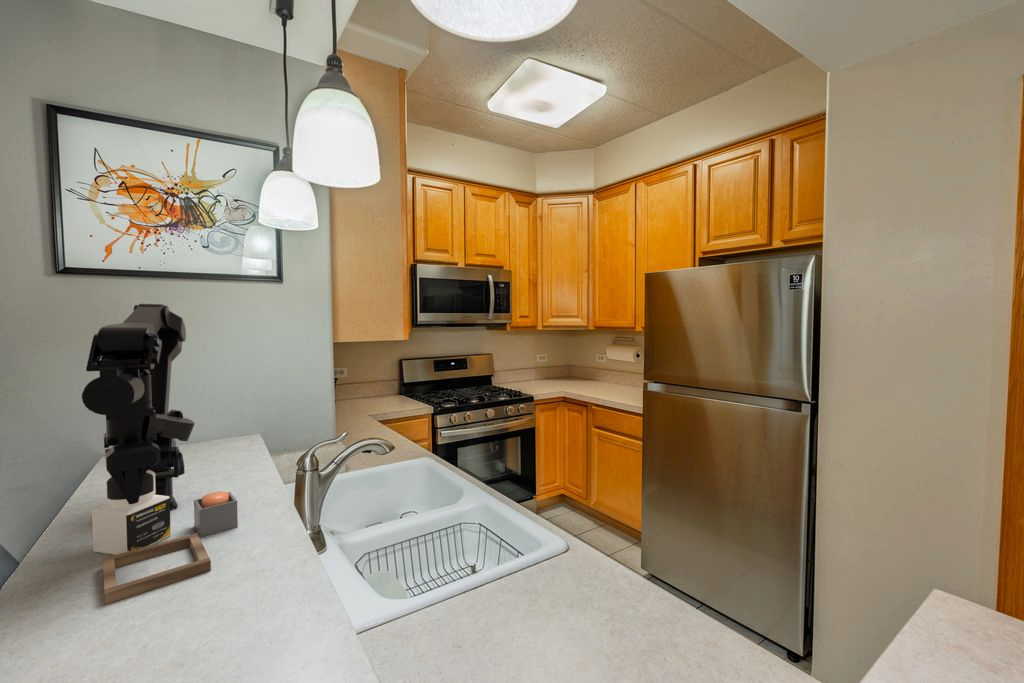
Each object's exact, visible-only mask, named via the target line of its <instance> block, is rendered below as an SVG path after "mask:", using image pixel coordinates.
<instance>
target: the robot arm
mask: <svg viewBox="0 0 1024 683" xmlns="http://www.w3.org/2000/svg"><path fill="white" fill-rule="evenodd" d="M186 329H187V328H186V324H185V323H184V319H183V318H182V317H181V316H179V315H178V314H176V313H174V312H173V311H171V310H170V308H169V306H168V305H164V304H163V303H139V304H135V305H134V306H133V311H132V312H131V313H130V314H129V315H128V317H126V319H124V320H123V321H122V322H120V323H113V324H107V325H105V326H102V327H100V328H99V329H98V331H97V333H95V334H94V335H93V337H92V341H91V344H90V349H89V353H88V354H89V355H88V359H87V363H86V367H85V370H86V372H99V377H97V378H94V379H92V380H91V381H89V382H88V383H87V384H86V385H85V387H84V388H83V391H82V393H81V400H82V404H83V405H84V406H85V408H86V409H88V410H89V411H90V412H92V413H94V414H97V415H101V416H105V428H106V429H105V433H104V434H103V449H104V452H105V466H106V467H105V468H106V472H107V473H109V476H110V478H111V477H112V478H113V480H114V481H115V483H116V484H117V486H118V488H119V489H120V491H121V492H122V494H123V495H124V497H125V498H126V500H127V502H128V503H129V504H135V503H138V501H139V497H140V493H141V489H142V485H143V481H144V478H145V474H146V472H147V471H148V470H150V471H153V472H154V473H155V488H156V493H155V494H154V495H163V496H169V497H170V510H174V509H177V508H178V503H177V501H176V499H175V497H174V496H173V495H174V490H173V487H174V486H173V478H175V479H176V478H179V477H180V476H182V475H184V474H185V471H186V470H185V461H184V460H185V459H184V456H183V453H182V452H181V451H180V447H179V446H177V441H176V440H178V441H181V442H188V441H189V440H190V437H191V434H192V432H193V430H194V427H195V425H196V423H195V422H194V421H193V420H192V419H190V418H184V414H183V411H182V410H176V409H170V411H169V408H170V392H171V390H170V389H171V378H172V377H171V376H172V362H173V361H174V360H175V359H176V358H177V357H178V356H179V355H180V353H181V352H182V348H183V342H186V339H187V334H186V333H187V332H186V331H187V330H186ZM110 447H111V448H110Z"/></svg>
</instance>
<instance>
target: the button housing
mask: <svg viewBox="0 0 1024 683" xmlns="http://www.w3.org/2000/svg"><path fill="white" fill-rule="evenodd" d="M228 493H229V502H227V503H223V504H219V505H214V506H210V507H206V508H202V497H201V498H197V499H196V498H195V499H194V500H193V510H194V511H193V516H194V517H193V518H194V519H193V520H194V521H193V522H194V528H195V529H196V533H197V534H198V536H199V538H202V537H206V536H210V535H214V534H217V533H220V532H224V531H228V530H232V529H235V528H237V527H238V523H239V522H238V521H239V520H238V499H236V497H235V495H233V494H232V493H231V491H228Z"/></svg>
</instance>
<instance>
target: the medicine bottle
mask: <svg viewBox="0 0 1024 683" xmlns="http://www.w3.org/2000/svg"><path fill="white" fill-rule="evenodd" d="M155 493H156V488H155V473H154V472H153V471H150V470H148V471H147V472H146V474H145V478H144V481H143V485H142V489H141V493H140V497H139V501H138V503H135V504H129V503H128V502H127V500H126V498H125V497H124V495H123V494H122V492H121V491H120V489H119V488H118V486H117V484H116V483H115V481H114V480H113V478H112V477H111V476H110V478H108V480H107V481H106V497H107V502H106V503H105V504H103V505H100V506H97V507H95V508H93V509H92V510H91V516H92V518H91V519H92V522H91V523H92V540H93V541H92V542H93V544H92V545H93V546H92V547H93V552H95V553H98V554H99V553H101V554H106V555H111V556H113V555H117V554H121V553H124V552H128V551H132V550H135V549H139V548H143V547H147V546H150V545H154V544H158V543H160V542H162V541H163V540H165V539H167V538H169V537H171V535H172V533H171V509H170V497H169V496H163V495H154V494H155Z"/></svg>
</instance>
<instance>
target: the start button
mask: <svg viewBox="0 0 1024 683" xmlns="http://www.w3.org/2000/svg"><path fill="white" fill-rule="evenodd" d="M228 492H229V491H228ZM228 492H227V491H215V492H211V493H207V494H205V495H203V496H202V497H201V498H202V508H206V507H210V506H214V505H219V504H223V503H227V502H229V493H228Z"/></svg>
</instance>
